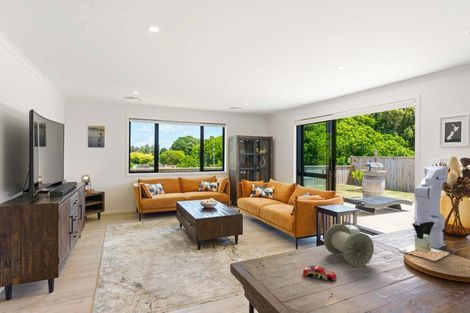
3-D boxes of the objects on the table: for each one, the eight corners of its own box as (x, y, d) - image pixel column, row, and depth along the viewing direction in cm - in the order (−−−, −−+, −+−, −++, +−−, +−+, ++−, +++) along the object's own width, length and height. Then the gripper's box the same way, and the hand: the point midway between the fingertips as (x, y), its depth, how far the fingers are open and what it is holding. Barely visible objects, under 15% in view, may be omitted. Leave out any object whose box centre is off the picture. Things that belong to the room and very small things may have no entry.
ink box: (343, 246, 145) (343, 224, 145) (353, 246, 145) (353, 224, 145) (350, 252, 136) (350, 229, 136) (360, 251, 136) (360, 229, 136)
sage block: (419, 240, 137) (419, 232, 137) (430, 243, 133) (430, 235, 133) (414, 242, 135) (414, 234, 134) (426, 245, 130) (426, 237, 130)
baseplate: (413, 245, 145) (413, 242, 145) (449, 254, 131) (449, 251, 131) (398, 251, 136) (398, 249, 136) (435, 262, 122) (435, 259, 122)
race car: (336, 277, 110) (336, 267, 110) (336, 283, 105) (336, 273, 105) (304, 271, 115) (304, 262, 115) (302, 277, 110) (302, 267, 110)
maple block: (419, 248, 137) (419, 240, 137) (430, 251, 133) (430, 243, 133) (415, 250, 134) (415, 242, 134) (426, 253, 130) (426, 245, 130)
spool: (324, 254, 133) (323, 225, 133) (349, 251, 137) (349, 222, 137) (345, 268, 117) (345, 234, 117) (373, 264, 121) (373, 232, 121)
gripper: (420, 207, 141) (421, 232, 141) (407, 210, 133) (407, 237, 133) (436, 209, 135) (436, 235, 135) (423, 213, 127) (424, 241, 127)
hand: (423, 237), depth 133 cm, fingers open, 7 cm apart
